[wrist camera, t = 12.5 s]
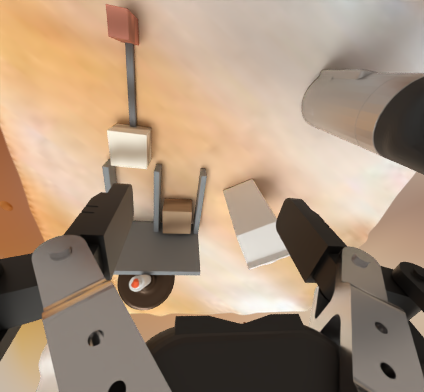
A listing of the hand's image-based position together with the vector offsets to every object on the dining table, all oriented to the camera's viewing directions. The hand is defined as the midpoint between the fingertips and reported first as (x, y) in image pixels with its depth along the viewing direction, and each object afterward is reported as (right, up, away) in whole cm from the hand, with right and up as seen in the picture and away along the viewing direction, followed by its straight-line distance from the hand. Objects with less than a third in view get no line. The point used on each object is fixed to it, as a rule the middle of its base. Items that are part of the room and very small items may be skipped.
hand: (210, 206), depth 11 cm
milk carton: (+7, 0, +36) cm, 37 cm away
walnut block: (-8, -3, +36) cm, 37 cm away
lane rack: (-12, 0, +34) cm, 36 cm away
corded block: (-13, +17, +23) cm, 32 cm away
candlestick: (-16, -21, +43) cm, 50 cm away
